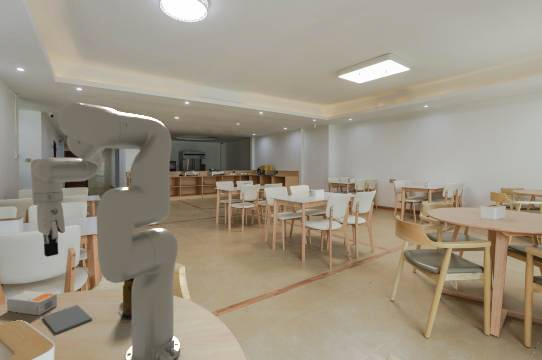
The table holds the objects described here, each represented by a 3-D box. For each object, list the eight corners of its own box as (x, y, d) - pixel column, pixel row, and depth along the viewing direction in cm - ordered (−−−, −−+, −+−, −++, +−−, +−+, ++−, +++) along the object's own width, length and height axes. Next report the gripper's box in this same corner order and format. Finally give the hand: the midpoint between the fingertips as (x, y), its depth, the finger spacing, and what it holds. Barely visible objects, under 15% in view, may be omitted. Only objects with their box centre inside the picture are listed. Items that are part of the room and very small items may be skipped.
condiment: (142, 304, 94) (142, 269, 93) (150, 315, 88) (149, 278, 87) (118, 311, 90) (117, 274, 89) (124, 323, 83) (123, 284, 82)
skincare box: (39, 302, 86) (5, 299, 87) (40, 315, 86) (6, 312, 88) (57, 293, 92) (25, 290, 93) (57, 305, 92) (26, 302, 94)
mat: (92, 320, 84) (92, 318, 84) (55, 334, 77) (55, 332, 77) (77, 306, 92) (77, 304, 92) (42, 318, 85) (42, 316, 85)
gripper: (70, 198, 87) (73, 256, 88) (55, 195, 96) (58, 248, 97) (40, 200, 81) (43, 263, 82) (26, 197, 90) (30, 253, 91)
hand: (51, 254), depth 90 cm, fingers closed
